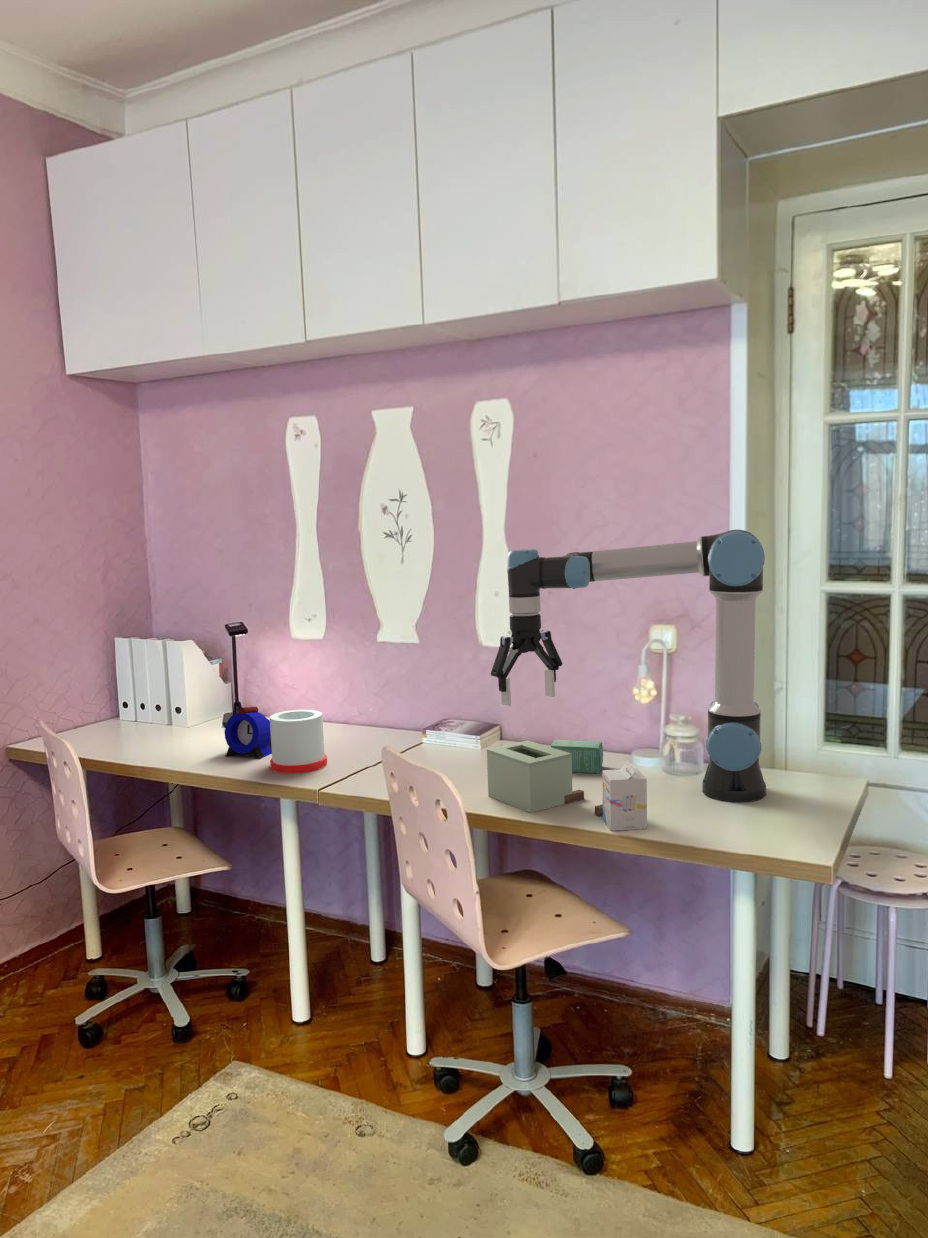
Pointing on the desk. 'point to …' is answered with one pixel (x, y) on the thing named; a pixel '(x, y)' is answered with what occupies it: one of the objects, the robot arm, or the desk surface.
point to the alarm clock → (248, 733)
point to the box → (582, 754)
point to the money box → (529, 775)
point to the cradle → (579, 796)
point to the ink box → (624, 799)
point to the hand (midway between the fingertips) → (528, 700)
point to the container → (297, 741)
